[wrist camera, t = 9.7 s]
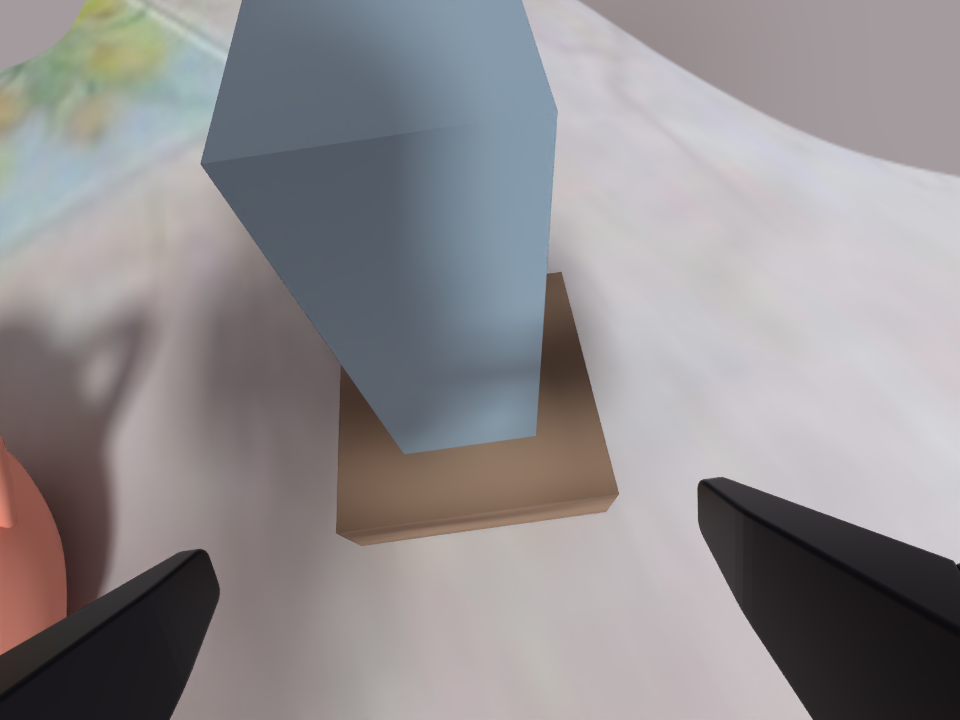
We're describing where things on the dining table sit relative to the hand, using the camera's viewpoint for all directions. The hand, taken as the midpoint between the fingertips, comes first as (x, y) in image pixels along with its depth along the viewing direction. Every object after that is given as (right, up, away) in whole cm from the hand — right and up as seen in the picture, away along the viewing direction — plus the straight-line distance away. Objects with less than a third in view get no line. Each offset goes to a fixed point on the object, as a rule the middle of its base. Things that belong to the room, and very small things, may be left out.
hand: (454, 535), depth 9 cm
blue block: (0, +2, +10) cm, 11 cm away
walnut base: (0, +1, +13) cm, 13 cm away
